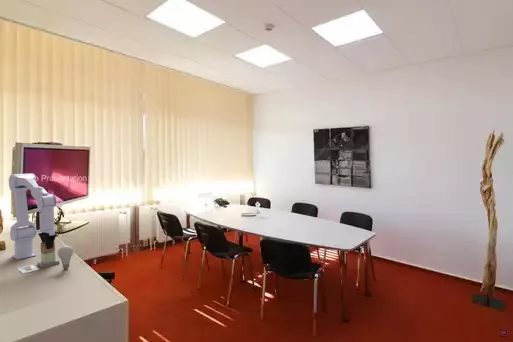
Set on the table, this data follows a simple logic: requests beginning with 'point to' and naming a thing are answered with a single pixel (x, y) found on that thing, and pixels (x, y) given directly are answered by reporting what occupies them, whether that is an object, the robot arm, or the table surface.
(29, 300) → the table surface
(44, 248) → the block
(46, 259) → the block
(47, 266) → the slab
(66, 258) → the lightbulb
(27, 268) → the blueprint sheet
